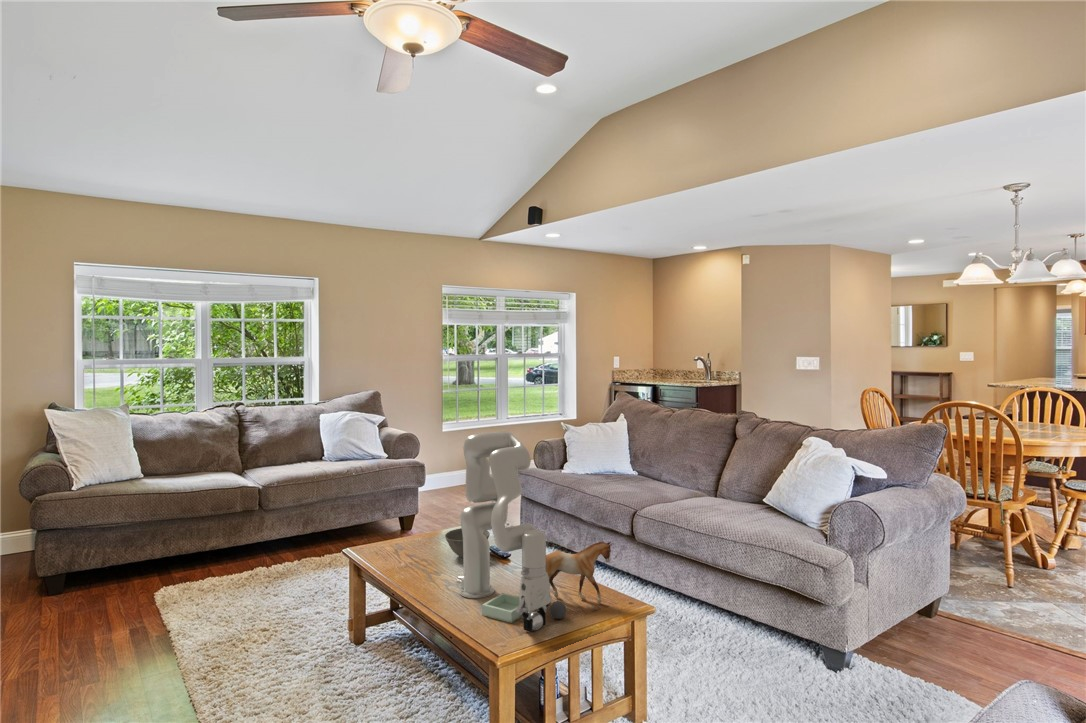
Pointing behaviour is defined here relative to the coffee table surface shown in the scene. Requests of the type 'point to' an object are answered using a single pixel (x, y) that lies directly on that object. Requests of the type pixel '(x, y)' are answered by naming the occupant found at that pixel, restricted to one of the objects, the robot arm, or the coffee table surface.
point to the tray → (502, 608)
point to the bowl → (458, 540)
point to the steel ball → (536, 620)
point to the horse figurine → (577, 564)
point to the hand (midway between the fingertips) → (534, 626)
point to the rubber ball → (558, 610)
